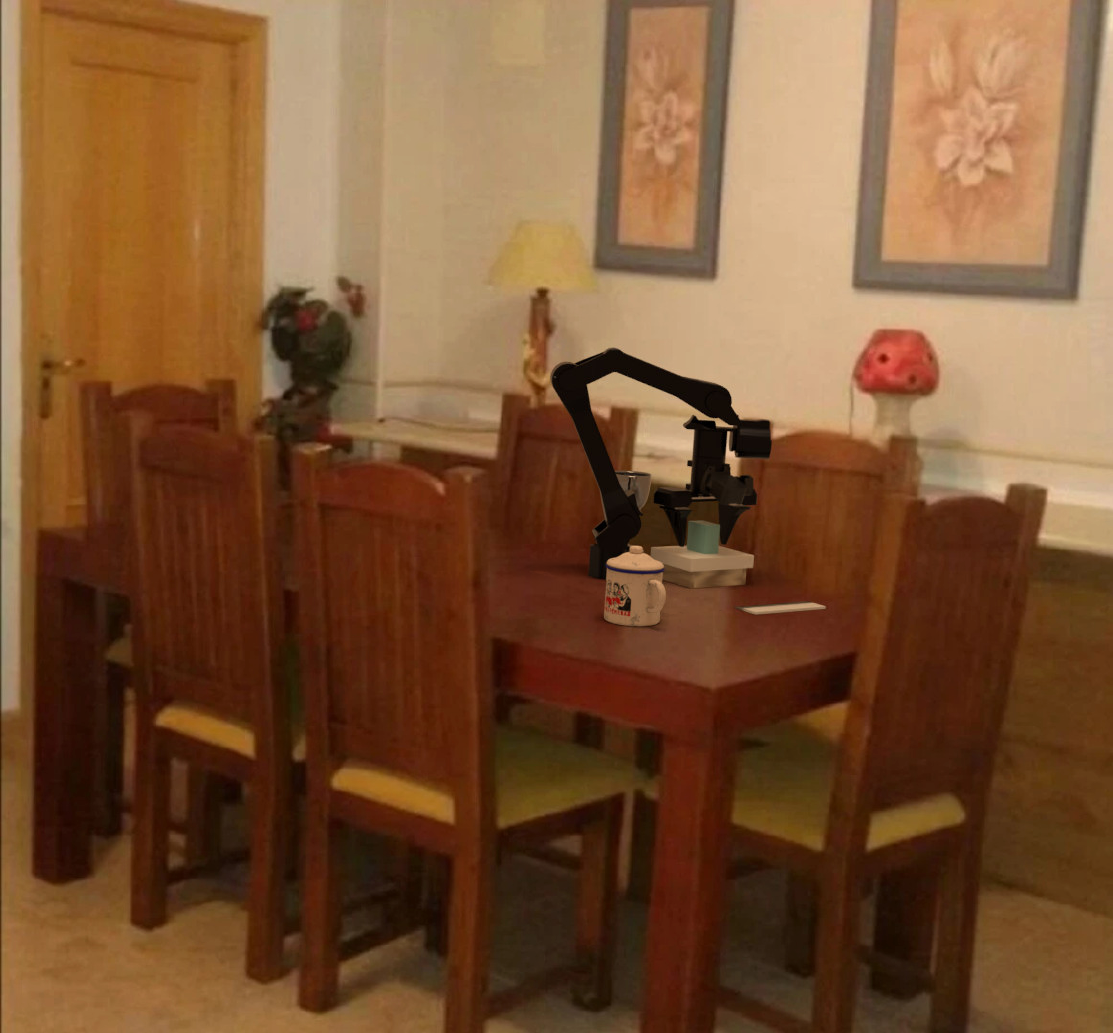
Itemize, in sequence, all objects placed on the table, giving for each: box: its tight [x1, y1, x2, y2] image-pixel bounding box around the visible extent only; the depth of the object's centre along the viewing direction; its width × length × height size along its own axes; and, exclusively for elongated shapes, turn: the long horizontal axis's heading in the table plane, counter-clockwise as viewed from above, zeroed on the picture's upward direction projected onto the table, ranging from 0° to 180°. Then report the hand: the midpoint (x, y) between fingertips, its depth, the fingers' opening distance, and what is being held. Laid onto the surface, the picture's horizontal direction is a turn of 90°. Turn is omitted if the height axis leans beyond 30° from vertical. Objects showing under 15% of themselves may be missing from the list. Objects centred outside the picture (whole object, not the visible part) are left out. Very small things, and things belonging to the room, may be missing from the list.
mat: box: [732, 600, 826, 615], centre depth 272 cm, size 15×14×1 cm
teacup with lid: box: [603, 545, 667, 627], centre depth 251 cm, size 12×9×12 cm
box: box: [662, 564, 747, 589], centre depth 285 cm, size 12×10×5 cm
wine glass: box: [615, 470, 652, 553], centre depth 317 cm, size 8×8×15 cm
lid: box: [649, 519, 755, 572], centre depth 284 cm, size 14×12×7 cm
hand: (702, 545), depth 284 cm, fingers open, 9 cm apart
